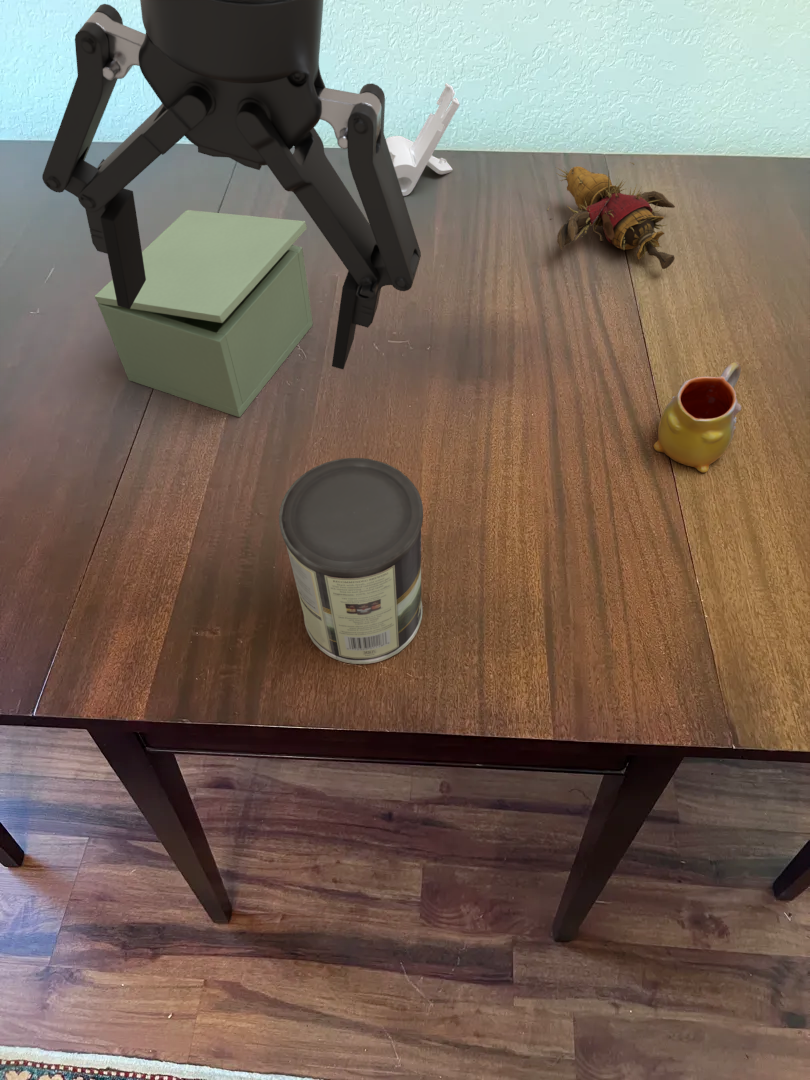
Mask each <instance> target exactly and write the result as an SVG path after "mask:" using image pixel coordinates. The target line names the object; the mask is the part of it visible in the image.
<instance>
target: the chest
mask: <svg viewBox="0 0 810 1080" xmlns="http://www.w3.org/2000/svg"><path fill="white" fill-rule="evenodd" d="M309 292H310V291H309V285H308V278H307V270H306V265H305V255H304V250H303V247H302V246H299V245H295V244H293V245H292V246H291V247H290V248H289V249H288V250H287V251H286V252H285V254H284V255H283V256H282V257H281V258H280V259H279V260H278V261H277V263H276V264H275V265H274V266H273V267H272V268H271V269H270V270H269V271H268V273H267V274H266V275H265V276H264V277H263V278H262V279H261V280H260V282H259V283H258V284H257V285H256V286H255V287H254V288H253V289H252V290H251V292H250V293H249V294H248V295H247V296H246V297H245V298H244V299H243V301H242V302H241V303H240V304H239V305H238V306H237V307H236V308H235V309H234V311H233V312H232V313H231V314H230V315H229V316H228V317H227V318H226V320H225V321H224V322H223V323H219V322H212V321H206V320H200V319H194V318H187V317H181V316H175V315H169V314H162V313H156V312H150V311H144V310H137V309H131V308H130V309H127V308H124V307H119V306H112V305H106V304H100V303H98V302H97V304H98V308H99V310H100V312H101V315H102V317H103V320H104V323H105V325H106V328H107V330H108V333H109V335H110V337H111V340H112V342H113V344H114V347H115V350H116V352H117V355H118V357H119V360H120V362H121V364H122V367H123V369H124V372H125V374H126V377H127V379H128V381H130V382H132V383H135V384H138V385H142V386H145V387H147V388H151V389H154V390H156V391H160V392H163V393H166V394H168V395H171V396H174V397H177V398H180V399H183V400H186V401H189V402H192V403H195V404H198V405H201V406H205V407H208V408H211V409H213V410H215V411H219V412H222V413H224V414H227V415H231V416H234V417H237V418H241V417H242V415H243V414H244V413H245V412H246V411H247V409H248V408H249V407H250V406H251V404H252V403H253V401H254V400H255V399H256V398H257V396H258V395H259V394H260V393H261V391H262V390H263V389H264V388H265V386H266V385H267V384H268V382H269V381H270V380H271V379H272V377H273V376H274V375H275V374H276V372H277V371H278V370H279V369H280V367H281V366H282V365H283V364H284V362H285V361H286V360H287V359H288V357H289V356H290V354H291V353H292V352H293V351H294V350H295V349H296V347H297V346H298V345H299V343H300V342H301V341H302V339H303V338H304V337H305V336H306V335H307V333H308V332H309V331H310V330H311V328H312V327H313V325H314V323H313V315H312V308H311V307H312V306H311V300H310V293H309Z"/></svg>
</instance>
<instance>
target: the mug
mask: <svg viewBox="0 0 810 1080" xmlns="http://www.w3.org/2000/svg"><path fill="white" fill-rule="evenodd" d="M741 372H742V367H741V364H740V363H739V362H737V361H733V362H730V363H729V364H728V365H726V366H725V368H724V370H723V371H722V372H721V375H720V376H707V375H706V376H705V375H704V376H696V377H693V378H690V379H687V380H686V381H683V382H682V384H681V386H680V387H679V390H678V392H677V393H676V394H675V395H674V396H672V398H671V400H670V401H669V402H668V403H667V405H666V406H665V408H664V409H663V411H662V414H661V416H660V419H659V422H658V426H657V427H658V428H657V441H656V442H654V444H653V448H654V450H655V451H656V452H657V453H658V452H659V453H664V454H665V455H666V456H667V457H669V458H670V459H671V460H673V461H674V462H676V463H678V464H681V465H684V466H687V467H692V468H695V469H696V470H697V471H699V472H700V473H702V474H705V473H707V472H708V471H709V468H710V466H711V465H712V464H713V463H715V462H716V461H718V460H719V459H720V458H721V457H722V456H723V455H724V454H725V453H726V451H727V450H728V449H729V448H730V445H731V443H732V442H733V438H734V434H735V430H736V429H737V426H736V423H737V417H736V415H738V414H739V413H740V412H741V411H742V405H741V403H739V401H738V398H737V393H736V390H735V386H736V385H737V383H738V381H739V379H740V376H741Z"/></svg>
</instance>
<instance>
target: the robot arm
mask: <svg viewBox="0 0 810 1080" xmlns="http://www.w3.org/2000/svg"><path fill="white" fill-rule="evenodd" d="M139 2H140V11H141V20H142V24H143V28H144V30H145V33H144V32H142V31H140V30H137V29H134V28H131V27H130V26H127V25H124V21H123V18H122V16H121V14H120V12H119V11H118V10H117V9H116V8H115V7H114V6H112V5H110V4H108V3H102V4H100V5H99V6H98V7H97V8H96V9H95V11H93V13H92V14H91V15H90V16H89V17H88V19H87V20H86V21H85V22H84V23H83V25H82V26H81V28H79V30H78V31H77V32H76V33H75V36H74V46H75V47H74V48H75V57H76V58H75V60H76V73H77V77H76V80H75V83H74V85H73V88H72V91H71V93H70V96H69V99H68V102H67V105H66V107H65V110H64V113H63V116H62V118H61V122H60V125H59V127H58V130H57V133H56V136H55V139H54V142H53V144H52V147H51V150H50V152H49V155H48V158H47V161H46V163H45V167H44V169H43V172H42V175H41V177H42V181H43V183H44V185H45V186H46V187H47V188H48V189H49V190H50V191H52V192H54V193H58V194H59V193H63V192H64V191H67V192H68V193H70V194H72V195H73V196H75V197H76V198H77V199H78V202H79V204H80V205H81V206H82V207H83V208H84V209H85V215H86V219H87V224H88V228H89V234H90V237H91V243H92V245H93V246H94V248H95V250H96V251H97V252H98V253H99V252H100V253H103V254H106V255H107V258H108V259H107V260H108V264H109V268H110V273H111V280H112V279H113V284H114V289H115V294H116V300H117V305H118V306H120V307H124V308H127V309H130V308H131V306H132V304H133V302H134V301H135V299H136V297H137V295H138V293H139V292H140V290H141V288H142V286H143V284H144V283H145V281H146V276H145V269H144V263H143V256H142V251H143V249H142V244H141V236H140V231H139V230H140V229H139V223H138V217H137V209H136V203H135V196H134V191H133V190H131V189H128V188H126V187H127V186H128V185H129V184H131V182H132V181H133V180H134V179H136V178H137V177H138V176H139V175H140V174H141V173H142V172H144V171H145V169H147V168H148V167H149V166H150V165H151V164H152V163H154V161H155V160H157V159H158V158H159V157H160V156H161V155H165V154H167V152H169V151H170V149H172V148H173V147H174V146H175V145H176V144H177V143H178V142H180V141H181V140H182V139H183V138H184V137H185V139H187V140H188V141H189V142H190V143H191V144H193V145H194V146H195V147H197V153H200V154H203V155H206V156H209V157H214V158H229V159H231V160H233V161H235V162H237V163H239V164H240V165H242V166H244V167H246V168H247V167H248V168H250V169H253V170H257V171H261V169H262V166H267V167H268V169H269V170H270V171H271V173H272V174H273V176H274V177H275V178H276V180H277V181H278V183H279V184H280V185H281V187H282V188H283V189H284V190H285V191H286V192H292V193H293V194H294V195H295V197H296V198H297V200H298V201H299V203H300V204H301V205H302V207H303V208H304V209H305V211H306V212H307V214H308V215H309V216H310V218H311V220H312V221H313V222H314V224H315V225H316V227H317V228H318V230H319V231H320V232H321V234H322V235H323V237H324V238H325V239H326V241H327V243H328V244H329V245H330V247H331V248H332V250H333V251H334V253H335V254H336V255H337V257H338V258H339V259H340V261H341V262H342V264H343V266H344V267H345V268H346V269H347V274H346V277H345V279H344V282H343V284H342V289H341V297H340V303H339V310H338V318H337V325H336V331H335V332H336V333H335V340H334V348H333V355H332V362H331V367H333V368H336V369H338V370H344V369H345V366H346V363H347V360H348V357H349V355H350V351H351V348H352V346H353V342H354V340H355V334H356V327H357V326H360V327H364V328H369V327H370V326H371V325H372V323H373V321H374V319H375V315H376V313H377V312H376V311H377V310H378V306H379V301H380V296H381V290H382V288H383V287H386V286H392V288H394V289H395V290H397V291H399V292H406V291H410V290H411V288H412V286H413V284H414V280H415V277H416V275H417V270H418V267H419V264H420V261H421V257H422V254H421V249H420V246H419V243H418V239H417V236H416V233H415V229H414V226H413V223H412V220H411V216H410V213H409V210H408V207H407V205H406V200H405V196H403V194H402V191H401V187H400V184H399V181H398V178H397V175H396V171H395V168H394V165H393V162H392V158H391V155H390V152H389V149H388V145H387V142H386V135H385V110H386V109H385V108H386V95H385V92H384V91H383V89H382V88H381V87H380V86H379V85H378V84H376V83H366V84H364V85H363V86H362V87H361V89H360V90H359V93H358V92H357V93H356V92H351V91H345V90H340V89H334V88H329V87H326V84H325V82H324V79H323V77H322V74H321V70H320V69H321V68H320V51H321V39H322V38H321V37H322V26H323V25H322V24H323V14H324V13H323V12H324V0H139ZM134 66H137V67H139V69H140V72H141V74H142V76H143V77H144V79H145V81H146V82H147V83H148V85H149V87H150V88H151V89H152V91H153V92H154V94H155V96H157V98H158V99H159V101H160V102H161V104H160V105H159V106H158V107H157V108H156V109H155V110H154V111H153V112H152V113H151V114H149V116H148V117H147V118H146V119H145V120H144V121H143V122H142V123H140V124H139V126H138V127H137V128H136V129H135V130H134V131H133V132H131V133H130V135H128V137H126V138H125V139H124V141H122V142H121V144H119V145H118V147H116V149H114V150H113V152H112V153H110V154H109V155H108V156H107V157H106V158H102V160H101V161H100V163H99V164H98V165H97V167H96V166H94V165H92V164H91V163H89V162H87V161H85V160H86V158H87V155H88V153H89V151H90V148H91V145H92V144H93V141H94V138H95V135H96V133H97V130H98V128H99V126H100V123H101V121H102V119H103V116H104V113H105V111H106V109H107V107H108V103H109V101H110V99H111V97H112V94H113V91H114V89H115V86H116V84H117V82H118V80H121V79H124V78H125V77H126V76H127V74H128V73H129V72H130V71H131V69H132V68H133V67H134ZM319 121H324V122H326V123H328V124H329V125H330V126H331V128H332V129H333V132H334V136H335V138H336V140H337V141H336V144H337V146H338V147H339V148H340V149H342V150H347V160H348V165H349V170H350V172H351V175H352V179H353V181H354V184H355V187H356V190H357V192H358V196H359V198H360V201H361V204H362V207H363V209H364V213H365V215H366V216H365V215H364V213H363V212H362V210H361V209H360V207H359V205H358V204H357V202H356V201H355V199H354V198H353V196H352V195H351V193H350V191H349V190H348V188H347V186H346V185H345V184H344V182H343V180H342V179H341V177H340V175H339V174H338V173H337V171H336V169H335V168H334V166H333V165H332V163H331V162H330V160H329V159H328V157H327V155H326V152H325V146H324V142H323V140H322V138H321V136H320V135H319V133H318V131H317V130H316V128H315V127H316V126H317V125H318V124H319ZM293 148H294V151H293V152H292V151H291V150H292V149H293ZM366 217H367V218H366Z"/></svg>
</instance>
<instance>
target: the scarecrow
mask: <svg viewBox="0 0 810 1080" xmlns="http://www.w3.org/2000/svg"><path fill="white" fill-rule="evenodd" d="M629 164H632V165H633V166H635V163H634V162H631V161H630V162H629ZM555 168H556V169H557V170H559V171H561V174H559V173H557V175H558V176H560V177H562V178H564V179H561V180H559V181H561V182H562V181H566V182H567V186H566V191H567V192H569V193H570V194H571V196H572V197H573V199H574V202H575V204H576V206H577V210H578V211H577V210H574V209H572V208H571V207H570V206H568V209H569V210H570V211H571V212H572V213H574V214H572V215H571V216H570V218H569V219H568V220H567V221H566V223H563V225H561V227H560V228H559V231H558V233H557V236H556V243H557V244H558V245H557V246H558V247H559V249H560V250H561V251H562V250H563V249H564V246H566V245H569V244H570V243H571V242H573V241H575V240H577V239H578V238H579V237H581V235H582V234H583V232H584V235H586V234H587V231H588V230H589V227H590V226H591V227H592V229H593V231H592V232H590V234H593V232H595V233H596V234H597V235H599V241H601V242H603V241H604V237H605V239H606V240H607V241H608V242H609V243H610V244H611V245H613V246H614V247H615V248H618V249H621V250H623V251H625V250H633V249H635V248H638V247H639V248H638V250H637V252H636V256H637V259H638V260H641V259H644V258H645V255H646V254H648V256H650V257H652V258H654V257H655V258H657V260H658V261H659V264H660V267H661V269H663V270H665V269H667V268H669V267H670V266H671V265H672V264H673V263H674V262H675V255H674V254H669V253H667V252H664V251H661V250H658V249H657V248H661V246H660V241H659V239H660V238H661V237H662V236H663V235H665V232H664V231H662V230H660V229H661V228H660V227H666V226H667V224H661V223H660V222H661V221H663V220H665V219H664V218H665V216H661V215H654V214H655V213H657V212H661V210H662V208H669V209H670V208H671V209H674V208H676V205H675V204H674V203H672V202H671V201H669V200H668V198H667V197H666V196H665V195H664V194H663V193H662V192H659V191H656V190H652V191H645V192H644V191H642V190H641V188H642V185H641V187H640V188H639V189H638V191H637V193H636V189H637V185H638V184H636V185H635V187H634V189H633V192H632V188H630V189H629V193H628V194H627V193H622V191H624V190H626V188H623V187H624V185H625V184H626V182H627V181H628V179H626V181H625V182H624V179H622V180H621V182H619V185H618V183H616V184H615V185H614V184H613V183H612V180H611V178H610V174H605V173H599V172H597V173H595V172H593V171H592V172H591V171H589V170H588V169H586V168H585V167H582V166H578V165H577V166H573V167H571V168H570V170H569V171H567V170H566V168H565V167H563V168H564V170H563V169H562V168H558V167H555ZM617 185H618V186H617ZM621 188H622V189H621ZM550 205H551V204H549V205H548V207H547V209H546V211H547V212H548V211H549V209H550ZM652 206H654V209H656V208H657V207H658V208H661V209H658V210H655V211H654V210H653V208H652ZM551 220H552V218H549V221H551ZM657 223H660V224H657ZM598 227H602V233H601V232H600V231H598V230H597V228H598ZM655 229H657V230H660V231H657V232H656V231H655ZM603 234H604V235H603Z"/></svg>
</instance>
